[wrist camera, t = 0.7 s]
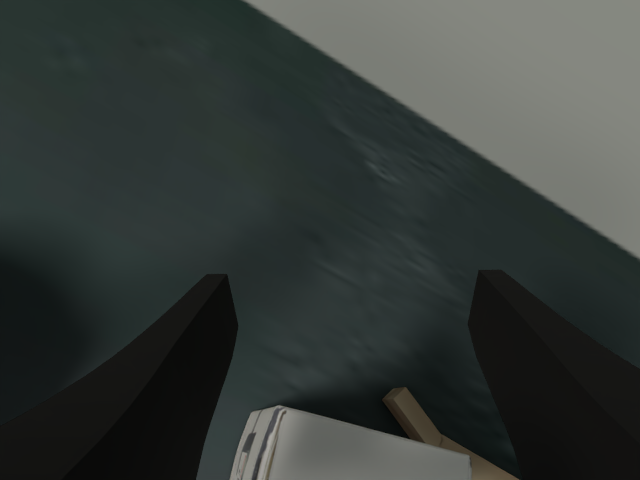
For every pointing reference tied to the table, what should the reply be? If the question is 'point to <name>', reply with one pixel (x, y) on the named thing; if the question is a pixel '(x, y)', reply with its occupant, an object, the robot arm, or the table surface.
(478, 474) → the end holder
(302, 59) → the table surface
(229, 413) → the table surface
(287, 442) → the ink box
